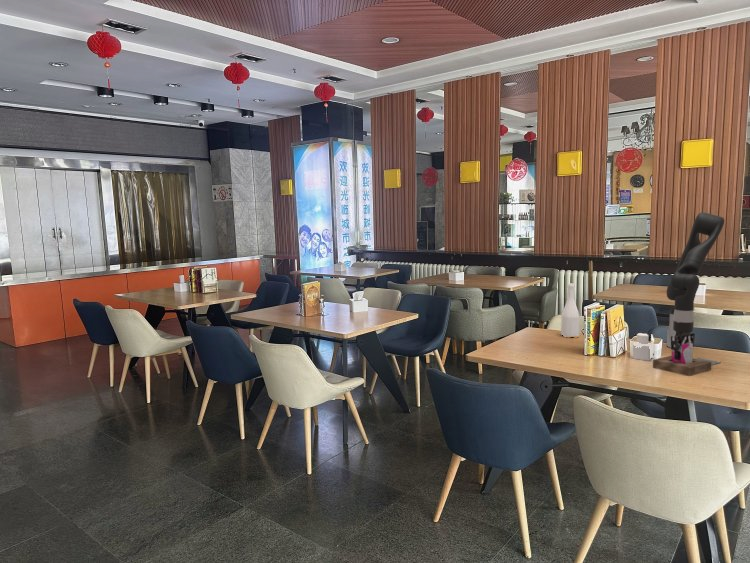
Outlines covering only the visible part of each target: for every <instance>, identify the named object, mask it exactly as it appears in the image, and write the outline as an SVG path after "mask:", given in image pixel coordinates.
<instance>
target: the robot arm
mask: <svg viewBox="0 0 750 563" xmlns="http://www.w3.org/2000/svg"><path fill="white" fill-rule="evenodd" d="M696 215H697V216H696V217H695V219H694V221H693V225H692V228H691V229H690V230H691V231H690V234H689V237H688V240H687V243H686V245H685V246H684V249H683V252H682V254H681V256H680V260H679V262H678V265H677V267H676V269H675V271H674V273H673V275H672V276H671V279H670V281H669V283H668V285H667V288H666V297H667V298H668V300H670V301H674V306H672V307H670V309H669V324H668V325H669V326H668V328H667V332H666V347H667V346H668V348H670V349H671V351H672V350H674V351H675V355H674V358H675V359H677V360H680V357H681V346H682V345H683V344H685V343H692V344H693V348H694V346H695V340H696V339H695V338H696V333H693V332H694V325H695V324H694V321H695V320H694V318H695V316H694V315H695V313H694V306H695V305H694V304H695V298H696V295H697V291H698V290H699V286H700V279H699V276H698V275H697V274H698V273H700V271H701V269H702V267H703V265H704V263H705V262H704V261H705V260H706V258H707V256H708V254H709V252H710V251H711V249H712V248H713V246H714V244H715V242H716V241H717V239H718V238H719V236H720V234H721V231H722V230H723V227H724V225H725V218H724V217H723V216H720V215H715V214H713V213H712V214H711V213H708V212H703V211H702V212H699V213H698V214H696ZM700 234H701V235H705V236H708V238H707V239H705V240H704V241H702V242H701V240H700ZM678 343H680V344H678ZM674 345H675V346H674ZM678 346H679V348H678Z"/></svg>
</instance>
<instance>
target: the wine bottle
mask: <svg viewBox="0 0 750 563" xmlns="http://www.w3.org/2000/svg"><path fill="white" fill-rule="evenodd" d="M575 286H576V285H575V283H574V282H573V283H571V282H570V283H569V282H568V283H567V298H566V302H565V305H564V307H563V310H562V313H561V324H560V325H561V327H560V330H561V336H562V335H563V336H569V337H572V336H579V337H580V322H581V321H580V311H579V310H578V307H577V304H576V300H575ZM563 336H562V337H563Z"/></svg>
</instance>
